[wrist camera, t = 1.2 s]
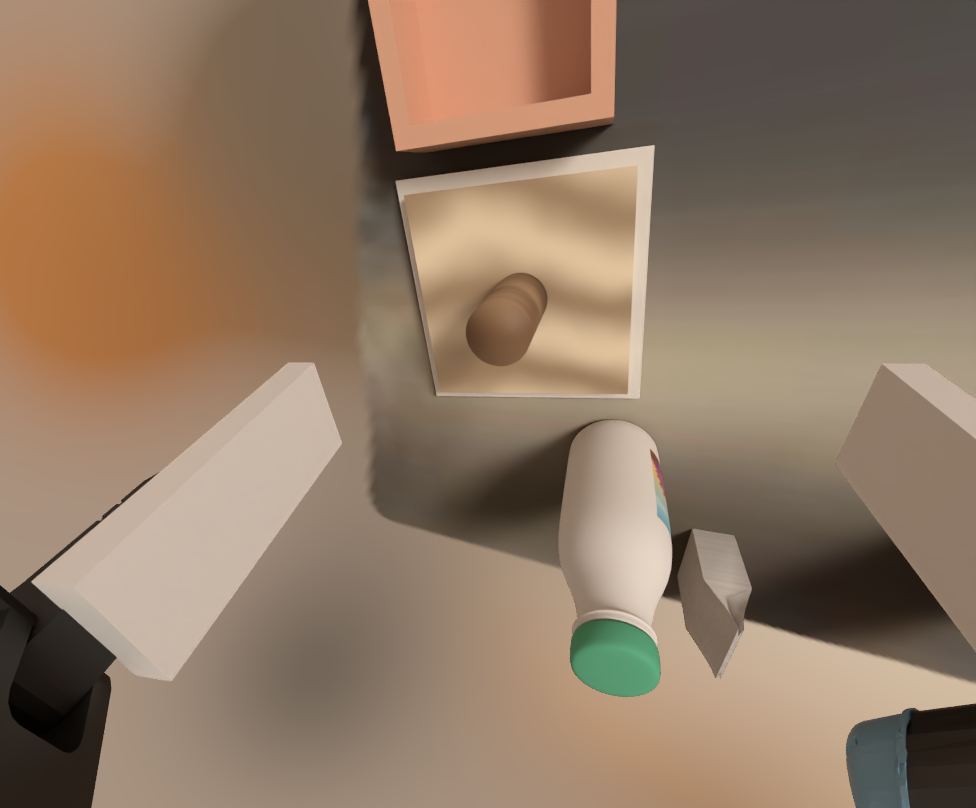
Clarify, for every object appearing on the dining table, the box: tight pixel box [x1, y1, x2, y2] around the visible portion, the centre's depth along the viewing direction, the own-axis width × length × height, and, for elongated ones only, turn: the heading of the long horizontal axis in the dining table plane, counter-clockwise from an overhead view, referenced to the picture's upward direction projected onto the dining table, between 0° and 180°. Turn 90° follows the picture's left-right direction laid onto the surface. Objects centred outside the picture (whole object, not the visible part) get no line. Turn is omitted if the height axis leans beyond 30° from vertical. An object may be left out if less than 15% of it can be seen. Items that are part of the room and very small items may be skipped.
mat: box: [395, 145, 654, 398], centre depth 33 cm, size 18×18×1 cm
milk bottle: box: [558, 419, 672, 697], centre depth 30 cm, size 8×8×20 cm
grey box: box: [677, 529, 752, 678], centre depth 38 cm, size 4×7×10 cm, turn 1°
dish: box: [368, 0, 616, 153], centre depth 24 cm, size 13×13×5 cm
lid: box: [404, 166, 638, 394], centre depth 29 cm, size 16×16×9 cm
